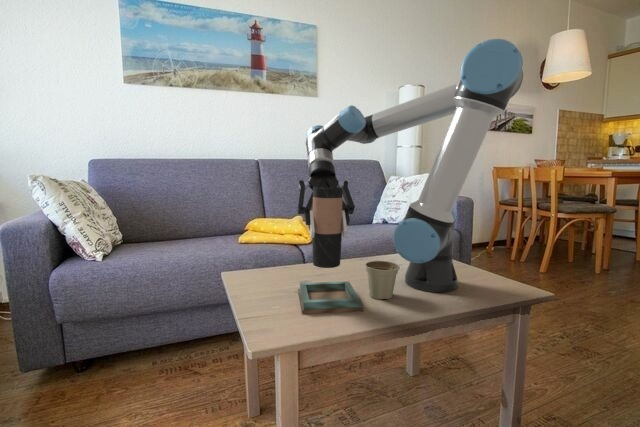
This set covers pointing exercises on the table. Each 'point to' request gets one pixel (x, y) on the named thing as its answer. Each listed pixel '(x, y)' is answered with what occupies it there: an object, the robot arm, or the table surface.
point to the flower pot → (381, 278)
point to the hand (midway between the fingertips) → (329, 234)
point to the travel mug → (327, 226)
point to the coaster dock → (328, 297)
